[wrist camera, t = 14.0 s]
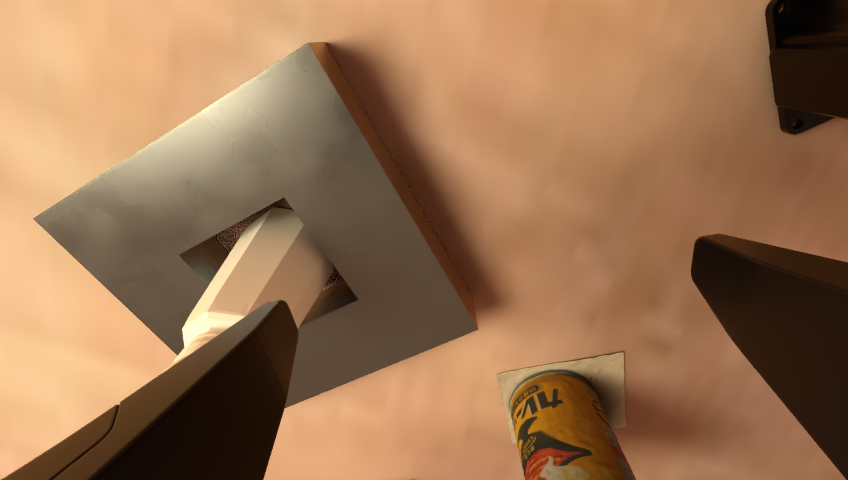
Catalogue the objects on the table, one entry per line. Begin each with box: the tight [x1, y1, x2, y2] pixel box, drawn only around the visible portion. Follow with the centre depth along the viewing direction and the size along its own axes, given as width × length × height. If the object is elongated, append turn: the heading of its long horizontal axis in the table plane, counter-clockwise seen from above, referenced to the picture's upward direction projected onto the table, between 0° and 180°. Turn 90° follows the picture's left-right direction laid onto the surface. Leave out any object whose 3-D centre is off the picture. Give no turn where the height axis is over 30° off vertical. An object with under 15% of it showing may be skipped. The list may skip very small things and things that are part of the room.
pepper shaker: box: [161, 207, 334, 374], centre depth 18 cm, size 5×5×11 cm
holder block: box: [33, 42, 478, 408], centre depth 22 cm, size 16×16×3 cm
